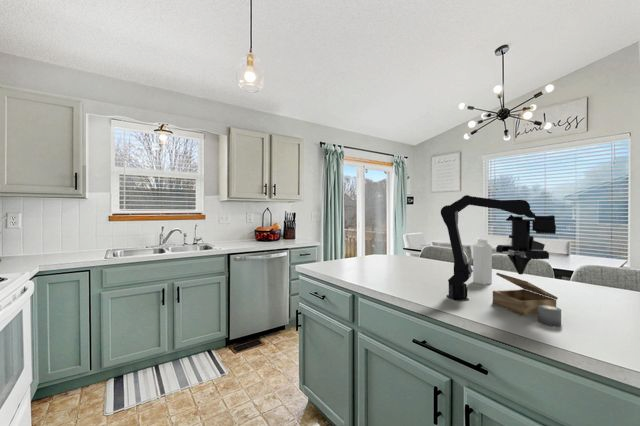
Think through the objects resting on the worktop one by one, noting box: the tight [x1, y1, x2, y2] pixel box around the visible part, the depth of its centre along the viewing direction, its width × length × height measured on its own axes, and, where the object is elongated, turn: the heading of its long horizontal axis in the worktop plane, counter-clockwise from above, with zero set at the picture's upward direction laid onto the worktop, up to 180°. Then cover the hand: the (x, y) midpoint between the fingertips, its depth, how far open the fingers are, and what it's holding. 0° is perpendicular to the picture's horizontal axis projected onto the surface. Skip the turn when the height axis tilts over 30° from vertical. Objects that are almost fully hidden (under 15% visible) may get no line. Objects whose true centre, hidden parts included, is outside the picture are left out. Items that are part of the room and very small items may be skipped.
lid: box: [495, 272, 559, 301], centre depth 111 cm, size 14×14×1 cm
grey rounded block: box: [537, 305, 562, 328], centre depth 97 cm, size 6×6×5 cm
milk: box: [472, 238, 493, 286], centre depth 149 cm, size 6×6×22 cm
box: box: [492, 288, 557, 317], centre depth 111 cm, size 14×14×5 cm
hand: (520, 274), depth 111 cm, fingers closed
